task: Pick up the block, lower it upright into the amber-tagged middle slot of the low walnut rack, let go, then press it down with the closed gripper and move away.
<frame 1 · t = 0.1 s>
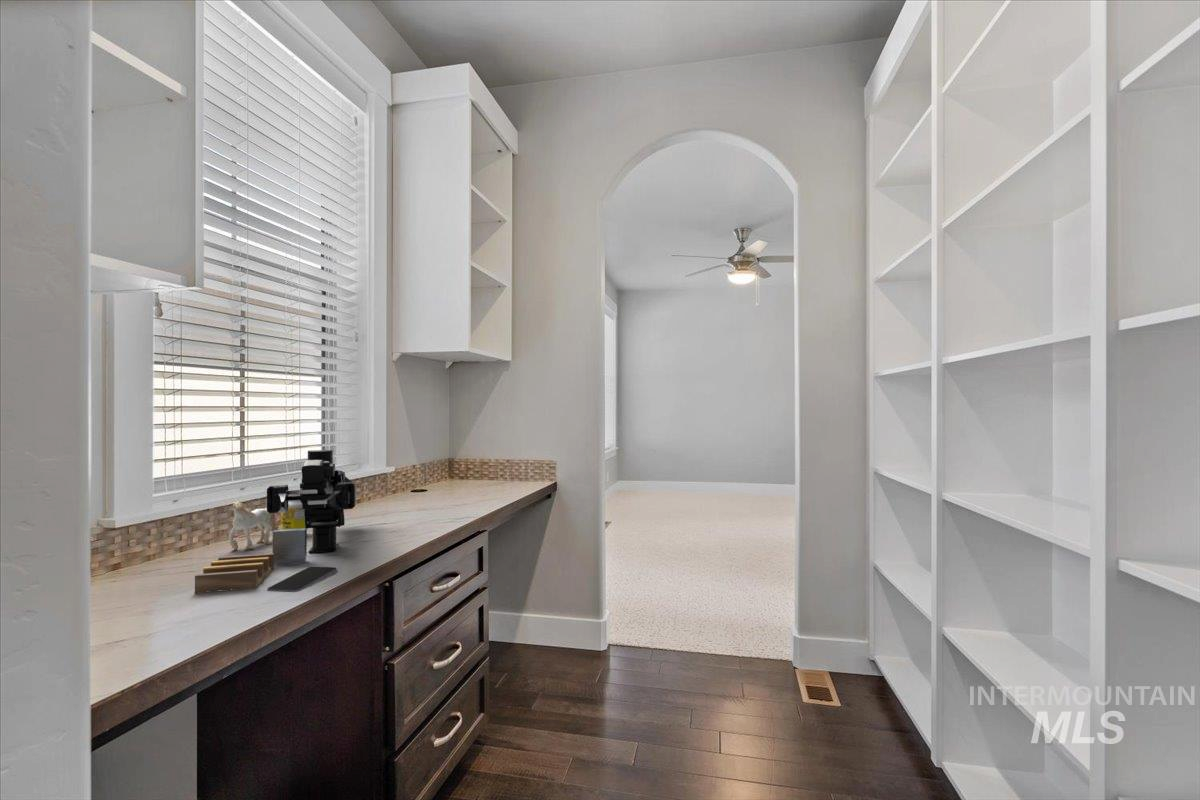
hand: (305, 503, 126), 17 cm above the table, tool horizontal, fingers open, 9 cm apart
unicorn figurine: (259, 548, 152), on the table
smartphone: (303, 583, 125), on the table
rack: (237, 579, 125), on the table
block: (289, 562, 138), on the table
supplement bottle: (293, 537, 165), on the table
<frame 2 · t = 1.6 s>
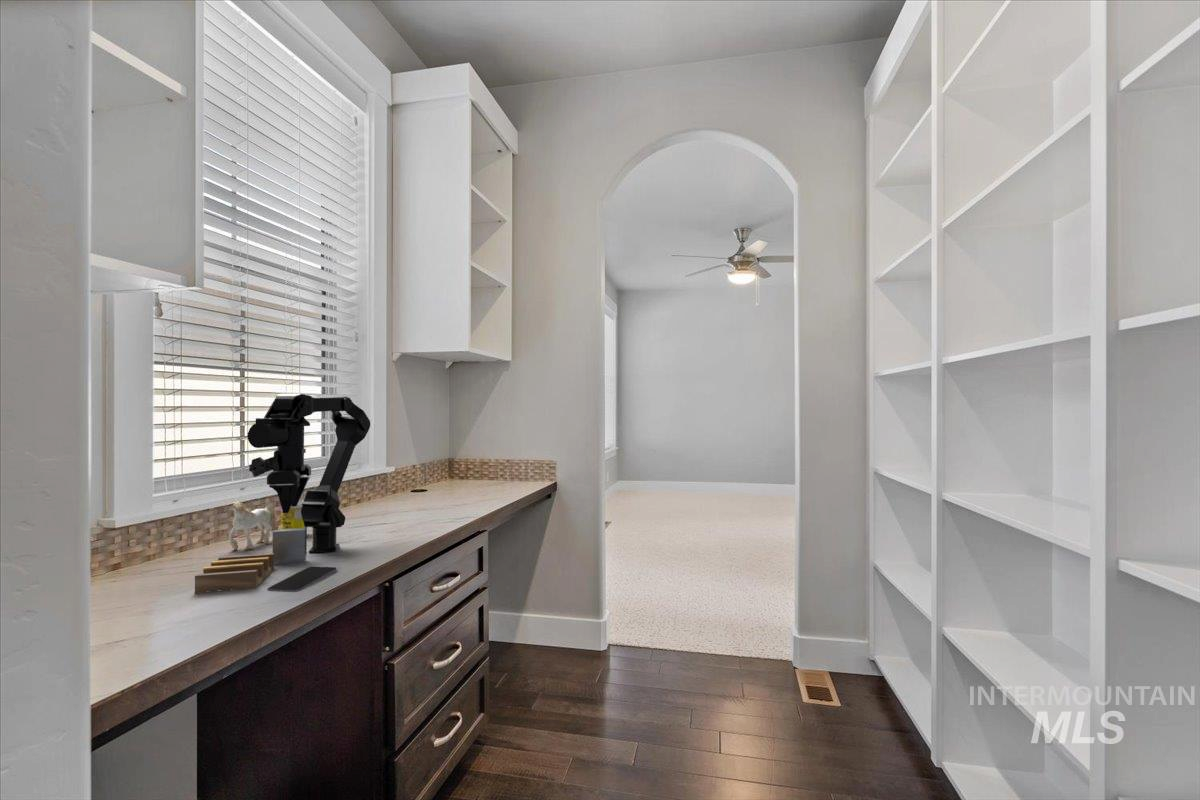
hand: (290, 509, 138), 13 cm above the table, tool pointing down, fingers open, 9 cm apart
nothing on the table moved.
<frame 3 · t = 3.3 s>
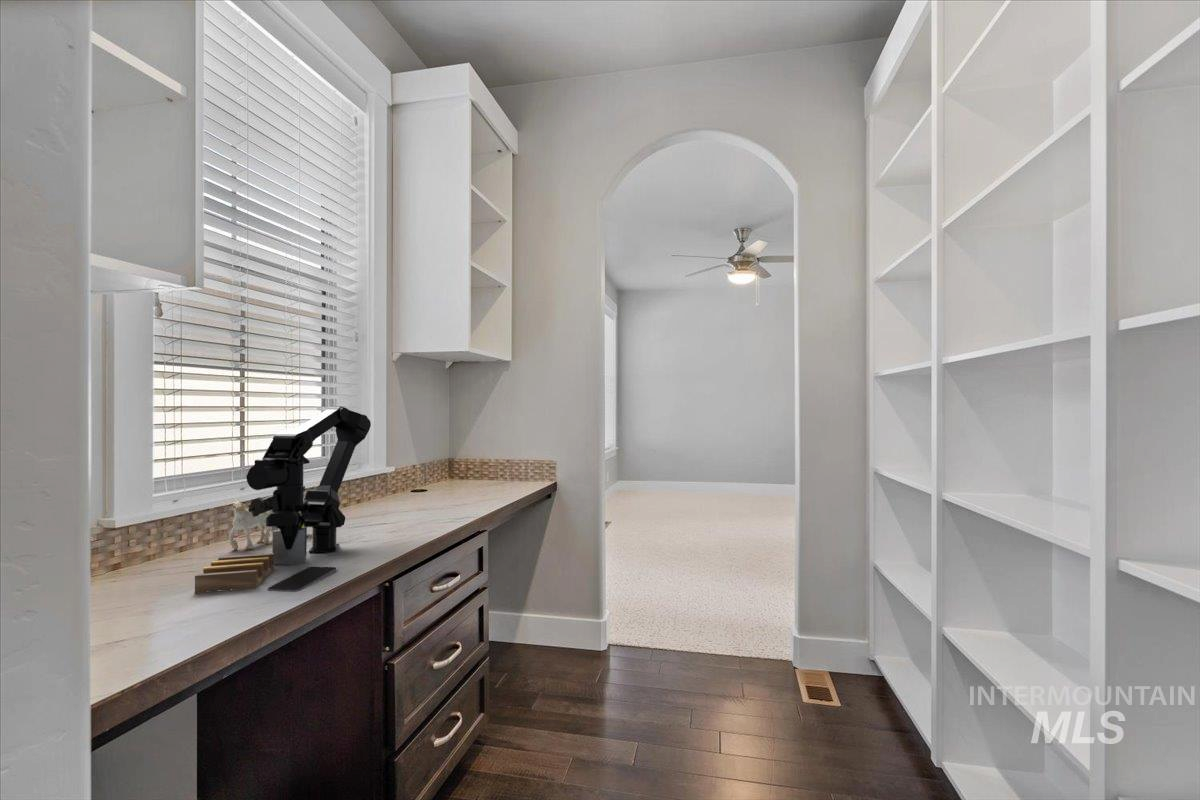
hand: (289, 548, 138), 4 cm above the table, tool pointing down, fingers closed on block, 2 cm apart
block: (289, 562, 138), on the table, touching gripper
everything else where it was.
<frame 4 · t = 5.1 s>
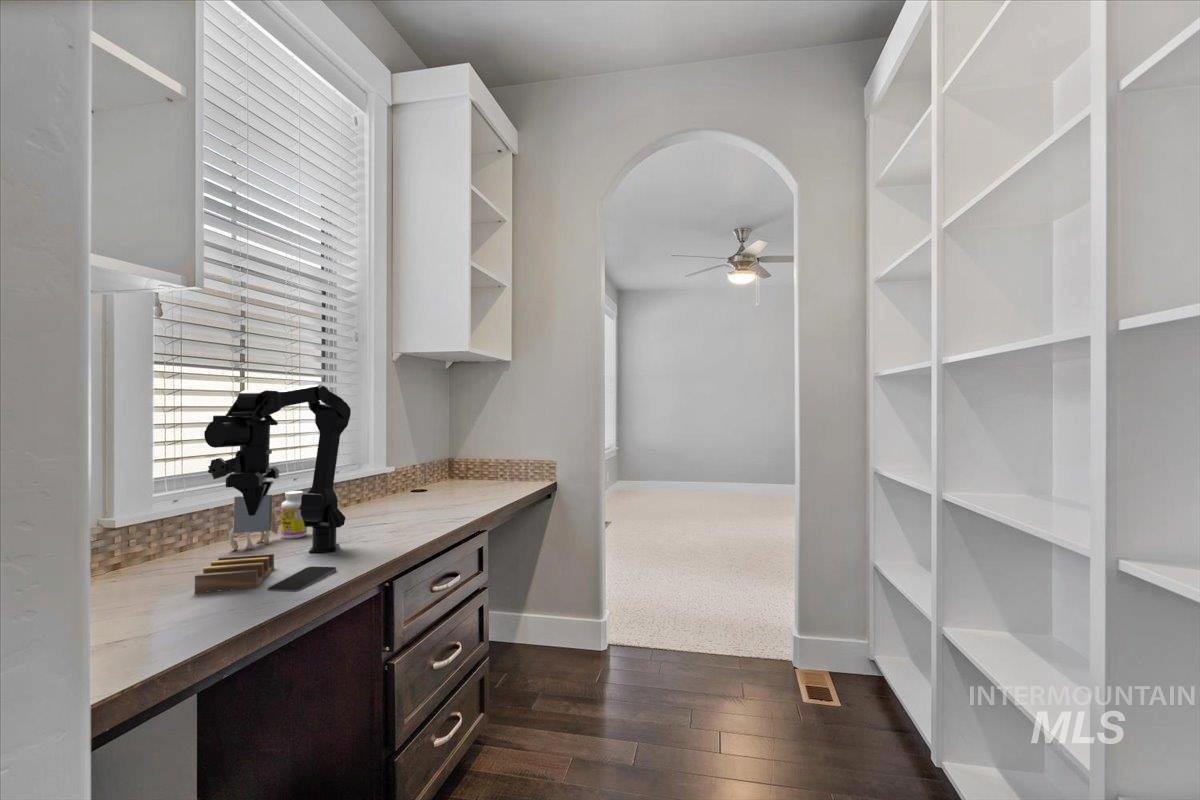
hand: (253, 514, 129), 14 cm above the table, tool pointing down, fingers closed on block
block: (252, 531, 128), point 10 cm above the table, touching gripper
everything else where it was.
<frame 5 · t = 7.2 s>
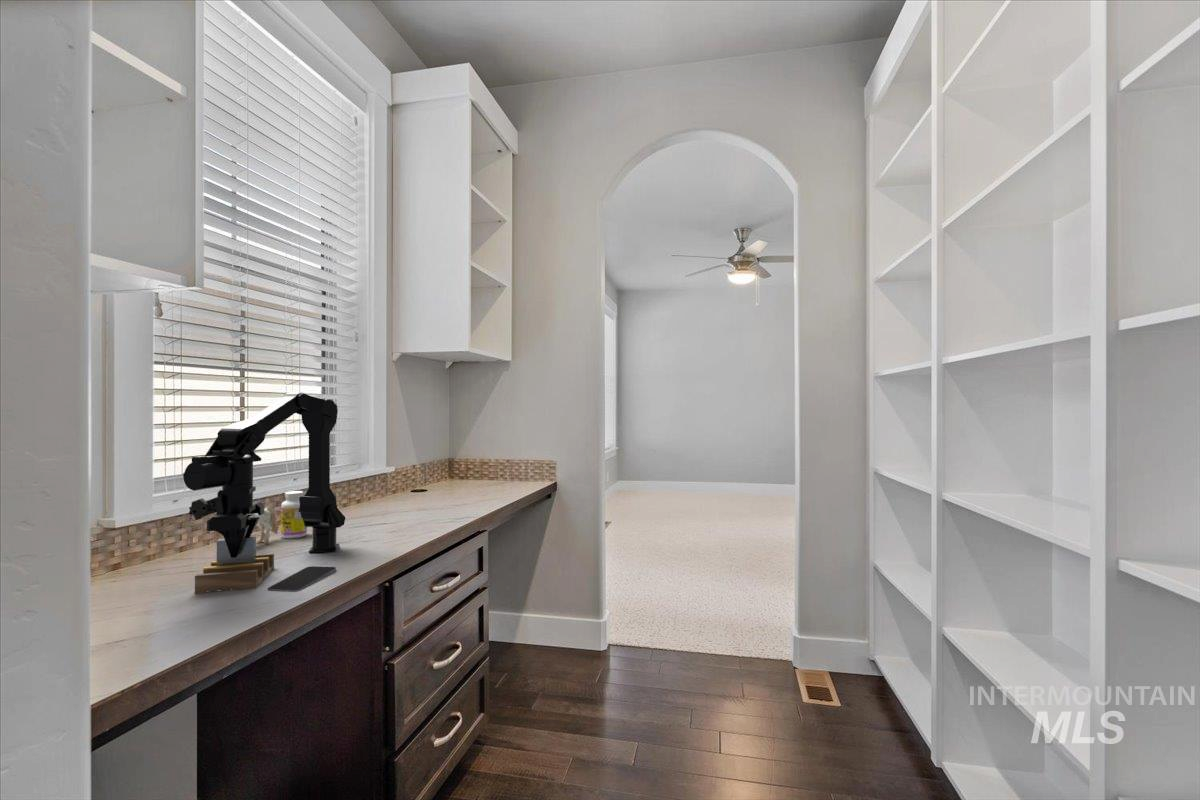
hand: (237, 554, 125), 5 cm above the table, tool pointing down, fingers open, 4 cm apart
block: (236, 575, 125), point 1 cm above the table, touching rack
everything else where it was.
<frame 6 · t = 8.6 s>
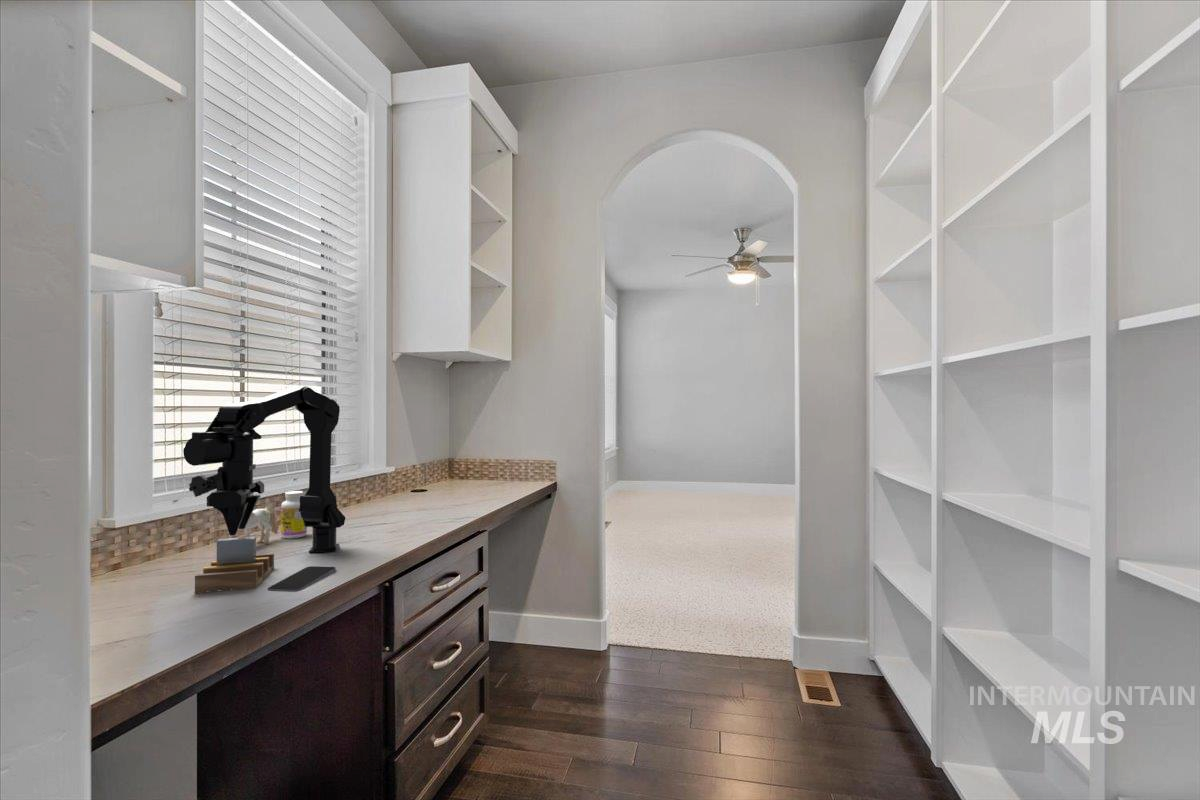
hand: (237, 532, 125), 10 cm above the table, tool pointing down, fingers open, 6 cm apart
nothing on the table moved.
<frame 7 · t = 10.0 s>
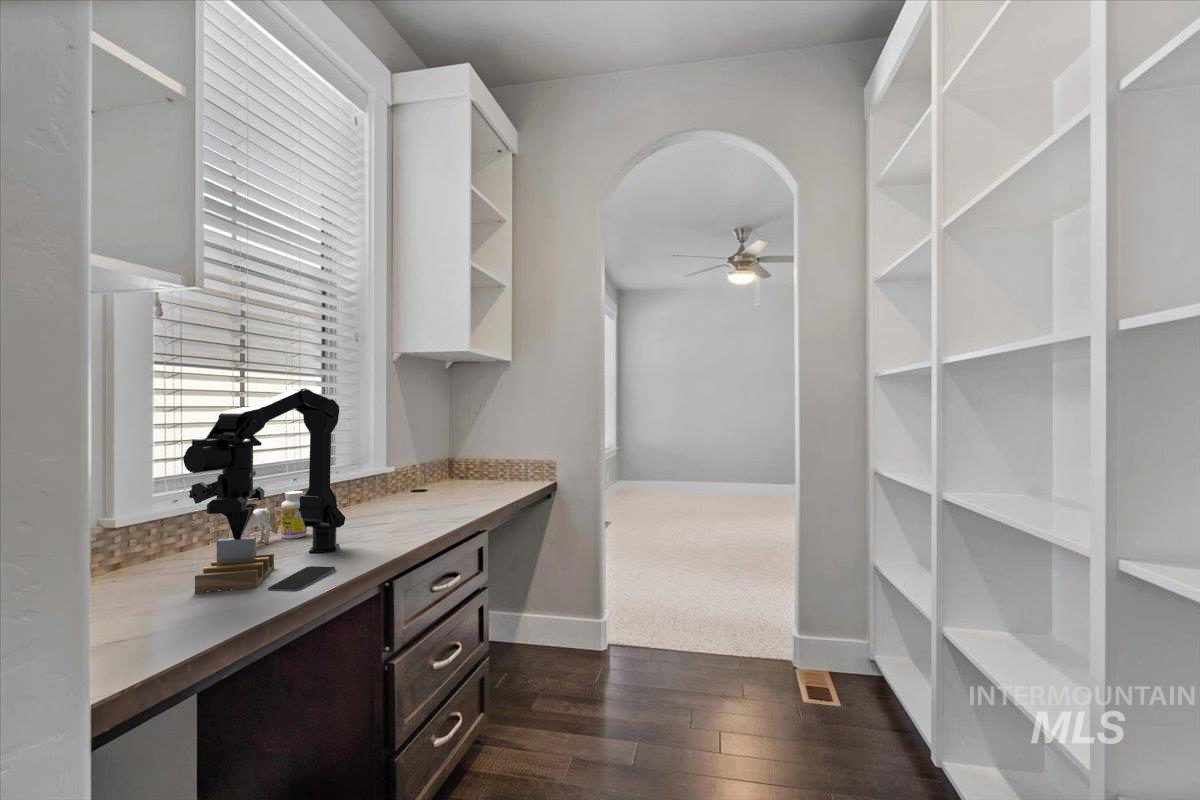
hand: (237, 538, 125), 9 cm above the table, tool pointing down, fingers closed, pressing on block
block: (236, 575, 125), point 1 cm above the table, touching gripper, rack
everything else where it was.
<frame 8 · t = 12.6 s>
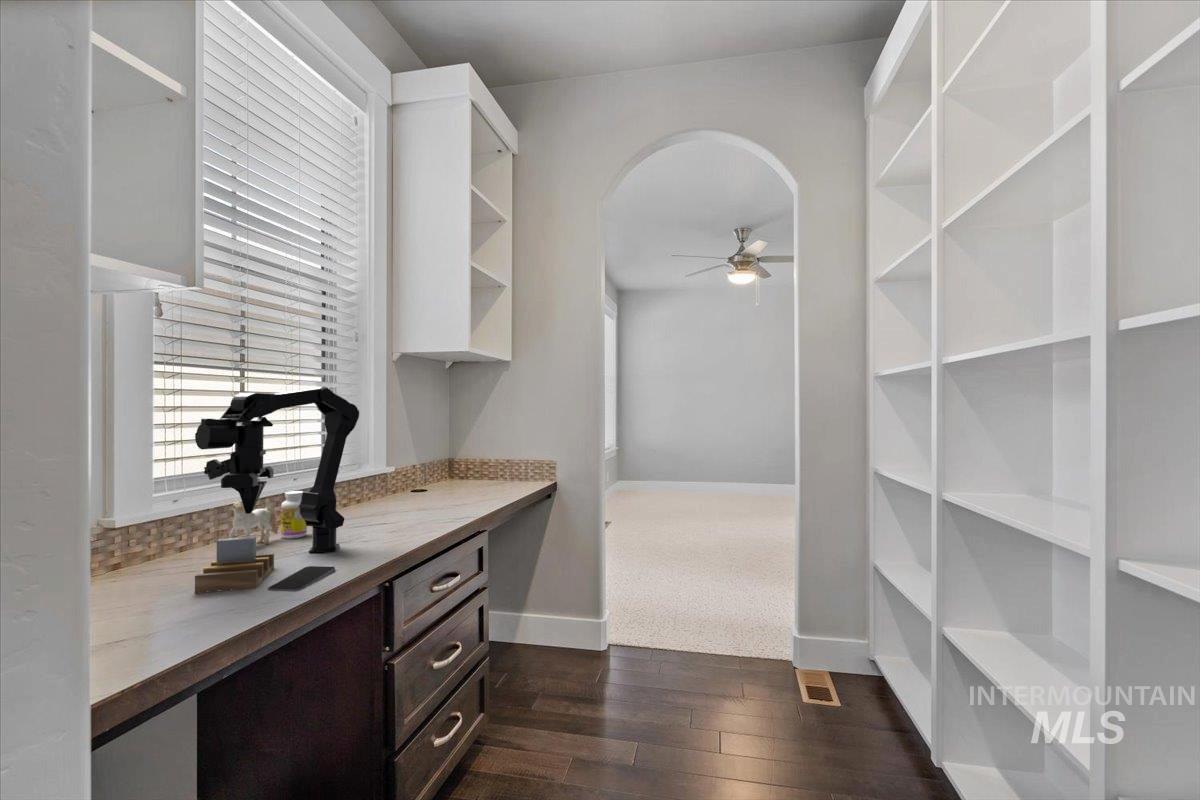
hand: (248, 513, 133), 13 cm above the table, tool pointing down, fingers closed
block: (236, 575, 125), point 1 cm above the table, touching rack
everything else where it was.
at the end: block 0.2 cm off-centre on the rack, point 1.0 cm above the rack's base; block tilted 0°; the gripper is holding nothing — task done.
